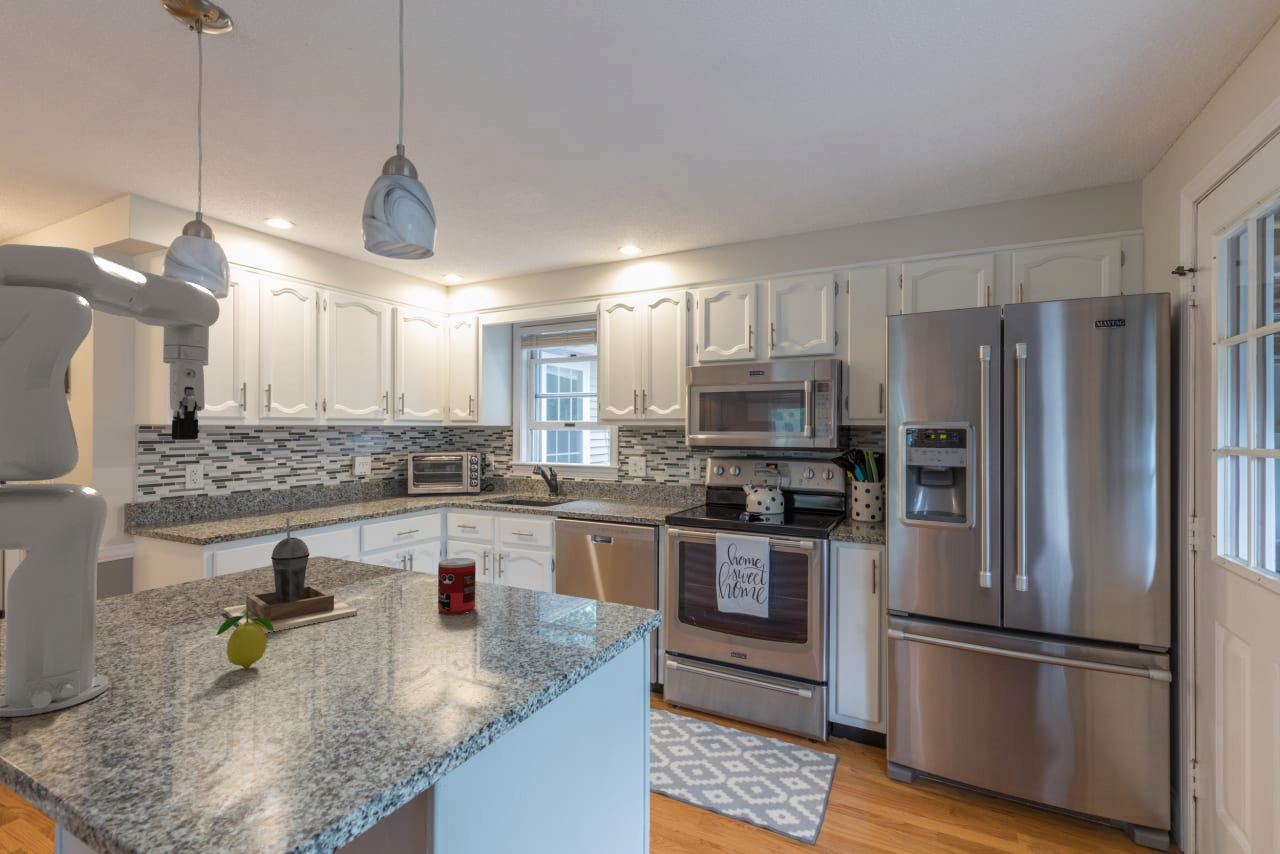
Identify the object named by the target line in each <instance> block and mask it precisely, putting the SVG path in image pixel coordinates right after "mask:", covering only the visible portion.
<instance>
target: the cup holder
mask: <svg viewBox="0 0 1280 854" xmlns="http://www.w3.org/2000/svg"><path fill="white" fill-rule="evenodd" d="M245 596H246V602H245V604H240V605H235V606H229V607H223V611H222V613H223V614H224V615H225V614H226V615H227V616H226V615H225V616H226V617H228V619H229V618H231V617H234V616H244V615H245V614H246V613H247V608H248V609H249V610H248V617H249V618H251V619H254V618H266V619H267V620H269V621H270V622H271V624H272V625H273V630H274V631H275V632H279V630H280V631H285V630H290V629H294V627H295V628H298V627H299V626H300V627H304V625H305V626H309V625H308V624H310V625H314V624H313V623H315V624H318V622H320V623H324V622H327V621H328V622H329V621H334V620H338V618H339V619H343V618H342V617H344V618H349V617H354V616H357V615H358V610H357V608H354V607H352V606H349V605H348V604H346V603H345V602H342V601H341V600H338V599H336V598H335V595H334V594H332V593H330V592H328V591H326V590H324V589H323V588H320V587H318V586H317V585H315V584H309V585H304V592H303V600H298V601H292V602H286V603H280V604H277V603H276V590H272V591H266V592H260V593H253V594H248V595H245ZM246 615H247V614H246ZM246 615H245V616H244V617H243V618H242V619H240V620H239V621H238V622H237V624H238V625H239V626H241V625H243V624H244V623H245V622H246ZM353 615H354V616H353ZM348 616H349V617H348ZM249 618H248V621H249V622H251V623H254V622H253V621H252V620H251V619H249ZM237 624H236V625H237ZM238 625H237V626H238ZM239 626H238V627H239ZM300 627H299V628H300ZM261 628H262V627H261ZM289 628H290V629H289ZM262 629H263V631H264V633H265V634H269V633H268V632H270V633H274V632H273V631H270V630H267V629H264V628H262ZM284 629H285V630H284Z"/></svg>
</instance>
